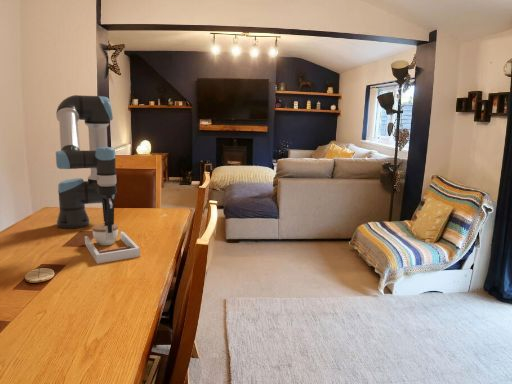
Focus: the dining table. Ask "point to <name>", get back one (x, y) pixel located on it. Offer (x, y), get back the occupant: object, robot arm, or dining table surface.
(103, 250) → the tray
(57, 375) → the dining table surface
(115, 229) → the lidded jar
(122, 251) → the channel
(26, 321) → the dining table surface
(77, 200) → the robot arm
